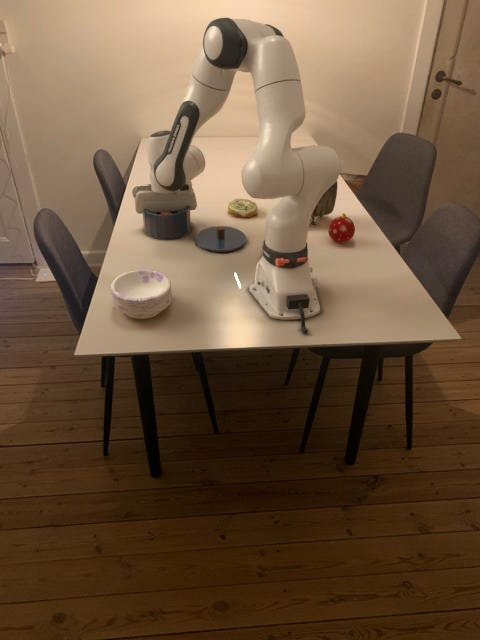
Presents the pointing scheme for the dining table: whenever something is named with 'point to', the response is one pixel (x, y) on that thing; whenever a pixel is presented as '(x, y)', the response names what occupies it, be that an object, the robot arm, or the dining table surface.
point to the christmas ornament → (341, 229)
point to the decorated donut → (242, 208)
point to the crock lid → (220, 238)
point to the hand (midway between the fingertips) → (167, 222)
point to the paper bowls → (141, 293)
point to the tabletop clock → (325, 203)
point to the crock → (167, 224)
